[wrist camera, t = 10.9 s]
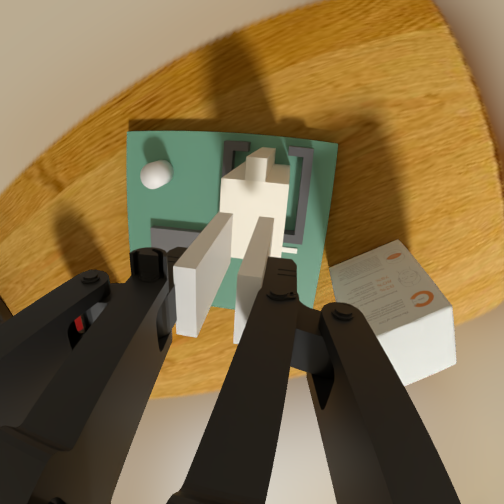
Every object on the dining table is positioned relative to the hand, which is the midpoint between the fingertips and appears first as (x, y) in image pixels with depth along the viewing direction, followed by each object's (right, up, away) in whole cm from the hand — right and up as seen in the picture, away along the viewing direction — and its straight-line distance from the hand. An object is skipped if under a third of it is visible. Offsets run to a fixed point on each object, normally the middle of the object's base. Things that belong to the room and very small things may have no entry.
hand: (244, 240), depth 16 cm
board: (-2, +2, +15) cm, 16 cm away
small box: (+13, -3, +16) cm, 21 cm away
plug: (+2, +5, +12) cm, 13 cm away
